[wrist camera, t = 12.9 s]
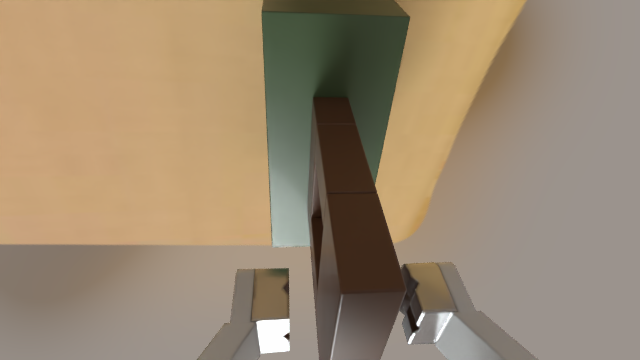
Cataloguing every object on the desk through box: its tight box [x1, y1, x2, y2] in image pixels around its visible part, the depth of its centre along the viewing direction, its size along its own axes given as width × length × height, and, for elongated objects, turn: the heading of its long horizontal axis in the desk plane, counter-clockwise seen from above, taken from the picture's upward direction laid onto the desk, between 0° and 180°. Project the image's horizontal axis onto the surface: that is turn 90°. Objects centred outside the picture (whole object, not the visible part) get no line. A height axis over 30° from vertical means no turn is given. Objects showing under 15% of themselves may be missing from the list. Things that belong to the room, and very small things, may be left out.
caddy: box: [262, 0, 410, 360], centre depth 15 cm, size 12×5×16 cm, turn 177°
